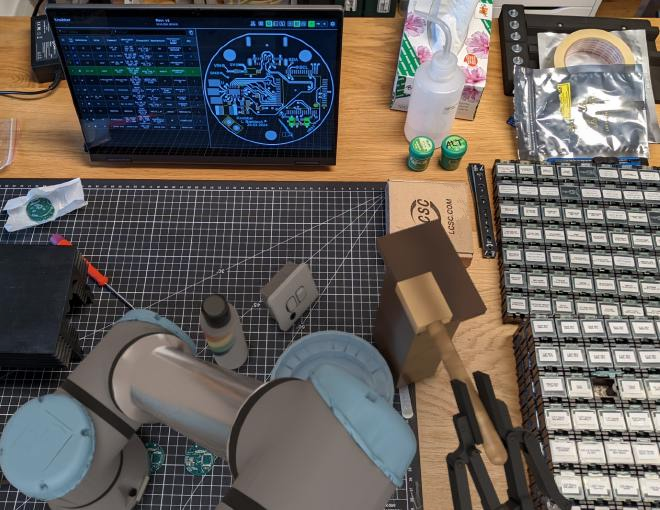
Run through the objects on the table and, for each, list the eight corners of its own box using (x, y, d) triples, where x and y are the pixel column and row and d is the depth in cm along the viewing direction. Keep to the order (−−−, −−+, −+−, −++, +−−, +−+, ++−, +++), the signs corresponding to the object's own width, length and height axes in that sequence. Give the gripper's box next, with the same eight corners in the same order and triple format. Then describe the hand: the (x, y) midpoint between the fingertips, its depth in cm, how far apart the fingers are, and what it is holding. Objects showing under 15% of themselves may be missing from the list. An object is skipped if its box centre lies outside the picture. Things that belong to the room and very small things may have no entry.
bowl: (293, 479, 94) (291, 472, 89) (256, 365, 103) (253, 352, 98) (409, 435, 98) (413, 426, 93) (364, 329, 107) (366, 315, 101)
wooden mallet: (480, 474, 64) (485, 470, 62) (394, 290, 74) (396, 282, 73) (518, 459, 65) (523, 455, 63) (428, 279, 75) (430, 271, 73)
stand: (394, 402, 100) (420, 332, 74) (362, 327, 107) (376, 237, 81) (444, 384, 102) (487, 309, 76) (410, 311, 108) (438, 218, 82)
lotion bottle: (231, 331, 106) (213, 278, 89) (255, 351, 104) (242, 301, 87) (207, 356, 104) (184, 306, 86) (232, 377, 102) (213, 330, 85)
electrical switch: (285, 334, 106) (278, 308, 98) (263, 317, 108) (254, 291, 100) (319, 295, 110) (315, 268, 102) (297, 280, 112) (291, 252, 104)
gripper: (454, 595, 68) (393, 394, 68) (572, 544, 71) (515, 349, 70) (484, 636, 61) (415, 410, 60) (614, 576, 64) (550, 360, 63)
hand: (469, 378), depth 65 cm, fingers closed on wooden mallet, 2 cm apart
